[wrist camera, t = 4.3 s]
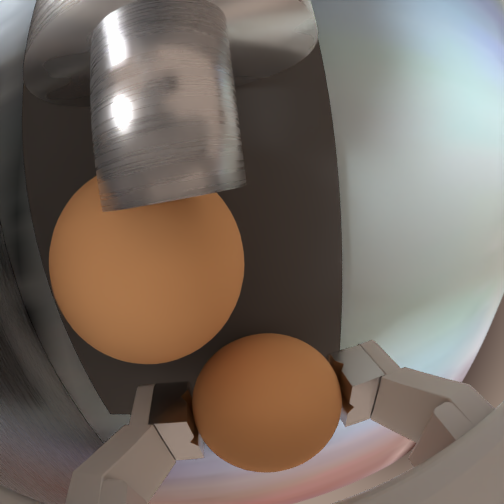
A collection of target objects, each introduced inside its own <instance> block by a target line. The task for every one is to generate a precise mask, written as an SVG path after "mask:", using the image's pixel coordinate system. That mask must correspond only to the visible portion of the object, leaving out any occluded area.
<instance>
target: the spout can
mask: <svg viewBox="0 0 504 504" xmlns="http://www.w3.org/2000/svg"><path fill="white" fill-rule="evenodd" d="M317 40H318V28H317V23H316V19H315V15H314V12H313V8H312V4H311V0H37V1H36V4H35V8H34V12H33V16H32V20H31V24H30V29H29V33H28V39H27V44H26V50H25V56H24V64H23V80H24V83H25V85H26V87H27V89H28V90H29V91H30V92H31V93H32V94H33V95H35V96H36V97H37V98H40V99H42V100H44V101H47V102H50V103H53V104H59V105H65V106H76V107H91V125H92V138H93V149H94V159H95V167H96V175H97V182H98V188H99V195H100V200H101V206H102V211H103V212H107V211H116V210H123V209H129V208H135V207H141V206H147V205H152V204H158V203H163V202H169V201H174V200H180V199H185V198H190V197H196V196H201V195H206V194H211V193H216V192H221V191H226V190H230V189H235V188H239V187H242V186H245V185H247V184H246V176H245V167H244V159H243V151H242V143H241V134H240V126H239V118H238V110H237V102H236V94H235V86H239V85H243V84H247V83H250V82H254V81H257V80H260V79H263V78H266V77H269V76H271V75H274V74H277V73H279V72H281V71H284V70H286V69H288V68H290V67H292V66H294V65H295V64H297V63H298V62H300V61H301V60H303V59H304V58H305V57H306V56H307V55H309V53H310V52H311V51H312V50H313V49H314V47H315V45H316V43H317Z"/></svg>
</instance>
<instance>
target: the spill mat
mask: <svg viewBox="0 0 504 504" xmlns="http://www.w3.org/2000/svg"><path fill="white" fill-rule="evenodd" d="M235 94H236V102H237V110H238V118H239V126H240V134H241V143H242V151H243V159H244V167H245V176H246V184H247V185H245V186H242V187H239V188H235V189H230V190H226V191H221V192H216V193H217V194H218V195H219V196H220V197H221V198H222V199H223V201H224V202H225V204H226V205H227V207H228V208H229V210H230V211H231V213H232V215H233V217H234V219H235V221H236V224H237V227H238V229H239V232H240V235H241V241H242V246H243V251H244V277H243V282H242V287H241V291H240V295H239V298H238V301H237V303H236V306H235V308H234V310H233V311H232V313H231V315H230V317H229V319H228V320H227V322H226V323H225V325H224V326H223V327H222V329H221V330H220V331H219V332H218V333H217V334H216V335H215V336H214V337H213V338H212V339H211V340H210V341H209V342H208V343H206V344H205V345H204V346H202V347H201V348H200V349H198V350H196V351H195V352H193V353H191V354H189V355H187V356H184V357H182V358H179V359H177V360H173V361H170V362H166V363H159V364H138V363H130V362H125V361H121V360H118V359H115V358H112V357H110V356H108V355H105V354H103V353H102V352H100V351H98V350H96V349H95V348H93V347H92V346H91V345H89V344H88V343H87V342H86V341H84V340H83V339H82V338H81V337H80V336H79V335H78V334H77V333H76V332H75V331H74V330H73V328H72V327H71V326H70V324H69V323H68V322H67V320H66V319H65V317H64V315H63V314H62V312H61V310H60V308H59V306H58V304H57V301H56V299H55V296H54V293H53V290H52V285H51V280H50V273H49V251H50V245H51V240H52V236H53V231H54V228H55V226H56V223H57V220H58V218H59V216H60V215H61V213H62V211H63V209H64V207H65V206H66V204H67V203H68V202H69V200H70V199H71V198H72V196H73V195H74V194H75V193H76V192H77V191H78V190H79V189H80V188H81V187H82V186H83V185H84V184H85V183H87V182H88V181H89V180H91V179H92V178H94V177H95V176H96V167H95V159H94V149H93V138H92V125H91V107H76V106H65V105H59V104H53V103H50V102H47V101H44V100H42V99H40V98H37V97H36V96H35V95H33V94H32V93H31V92H30V91H29V90H28V89H27V87H26V85H25V83H24V84H23V100H22V140H23V157H24V169H25V178H26V186H27V193H28V200H29V206H30V211H31V217H32V222H33V227H34V231H35V236H36V240H37V244H38V248H39V252H40V256H41V259H42V263H43V266H44V270H45V273H46V276H47V280H48V283H49V286H50V289H51V292H52V295H53V298H54V300H55V303H56V306H57V308H58V311H59V314H60V316H61V319H62V321H63V324H64V326H65V328H66V331H67V333H68V335H69V338H70V340H71V342H72V344H73V347H74V349H75V351H76V353H77V355H78V357H79V359H80V361H81V363H82V365H83V367H84V369H85V371H86V373H87V375H88V377H89V379H90V380H91V382H92V384H93V386H94V388H95V389H96V391H97V393H98V395H99V396H100V398H101V400H102V401H103V403H104V405H105V406H106V408H107V409H108V411H109V413H110V414H131V413H132V408H133V404H134V399H135V395H136V391H137V388H138V386H139V385H140V384H156V383H171V382H184V381H189V382H190V383H191V385H192V388H193V390H194V387H195V384H196V381H197V378H198V376H199V374H200V372H201V370H202V368H203V367H204V365H205V364H206V363H207V361H208V360H209V359H210V358H211V357H212V356H213V355H214V354H215V353H216V352H217V351H218V350H220V349H221V348H222V347H224V346H226V345H227V344H229V343H231V342H233V341H235V340H237V339H240V338H243V337H246V336H250V335H255V334H262V333H274V334H282V335H287V336H291V337H294V338H297V339H299V340H301V341H303V342H305V343H307V344H309V345H310V346H312V347H313V348H315V349H316V350H317V351H318V352H320V353H321V354H322V355H323V356H324V357H325V358H326V356H327V354H329V353H333V352H336V351H339V350H340V334H341V311H342V233H341V210H340V193H339V179H338V167H337V157H336V147H335V138H334V130H333V122H332V114H331V107H330V101H329V94H328V88H327V82H326V76H325V71H324V66H323V60H322V55H321V50H320V46H319V41H318V40H317V43H316V45H315V47H314V49H313V50H312V51H311V52H310V53H309V55H307V56H306V57H305V58H304V59H303V60H301V61H300V62H298V63H297V64H295V65H294V66H292V67H290V68H288V69H286V70H284V71H281V72H279V73H277V74H274V75H271V76H269V77H266V78H263V79H260V80H257V81H254V82H250V83H247V84H243V85H239V86H235Z"/></svg>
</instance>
